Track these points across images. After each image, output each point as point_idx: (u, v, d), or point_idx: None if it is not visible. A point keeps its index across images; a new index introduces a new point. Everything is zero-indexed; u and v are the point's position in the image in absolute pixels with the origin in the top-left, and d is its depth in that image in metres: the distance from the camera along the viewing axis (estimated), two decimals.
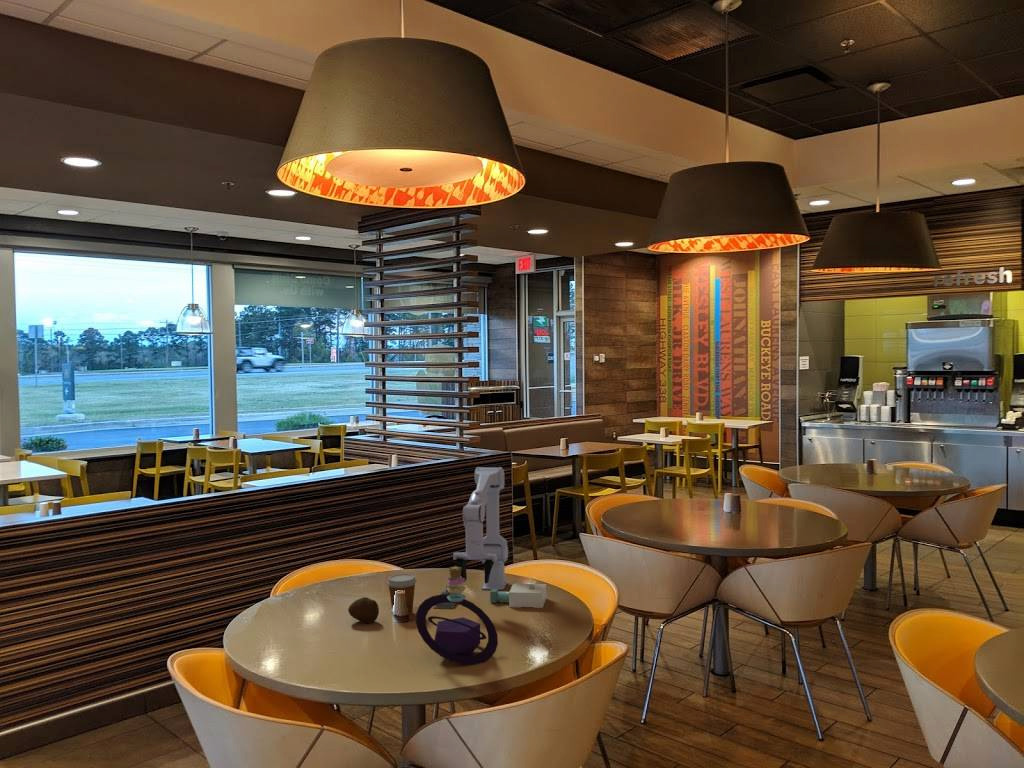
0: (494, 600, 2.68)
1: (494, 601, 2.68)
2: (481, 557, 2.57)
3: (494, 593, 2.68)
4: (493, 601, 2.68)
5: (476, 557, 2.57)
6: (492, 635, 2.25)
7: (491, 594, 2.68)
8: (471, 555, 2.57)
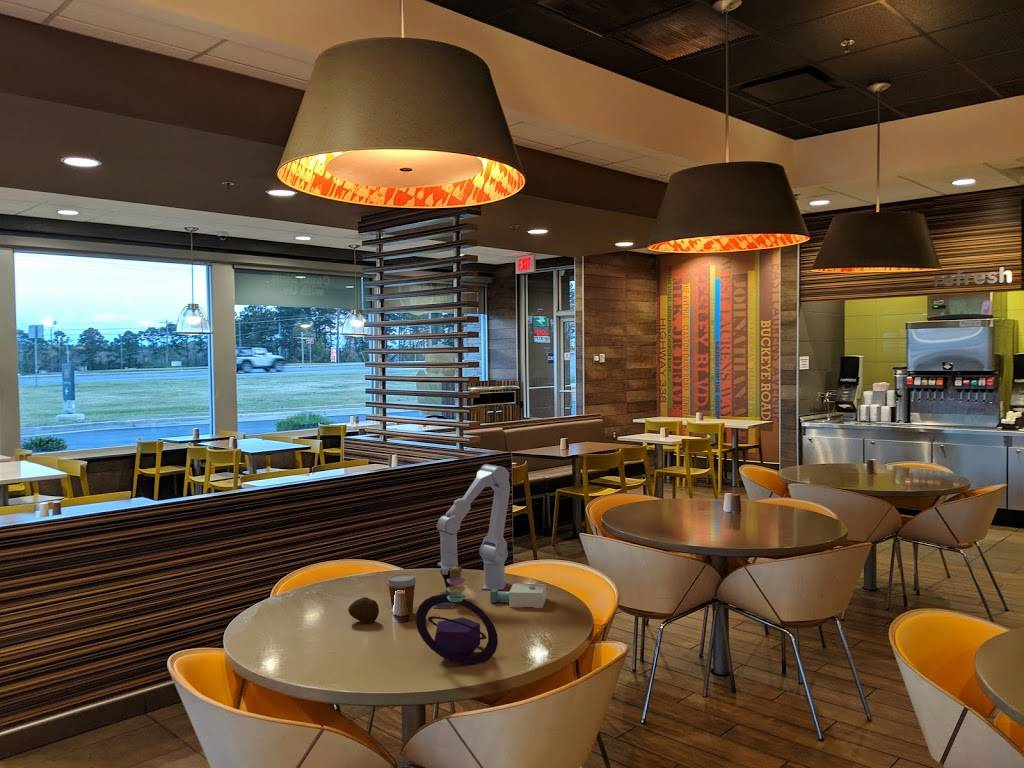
0: (494, 600, 2.68)
1: (494, 601, 2.68)
2: (441, 566, 2.72)
3: (494, 593, 2.68)
4: (493, 601, 2.68)
5: (440, 565, 2.74)
6: (492, 635, 2.25)
7: (491, 594, 2.68)
8: (441, 562, 2.75)
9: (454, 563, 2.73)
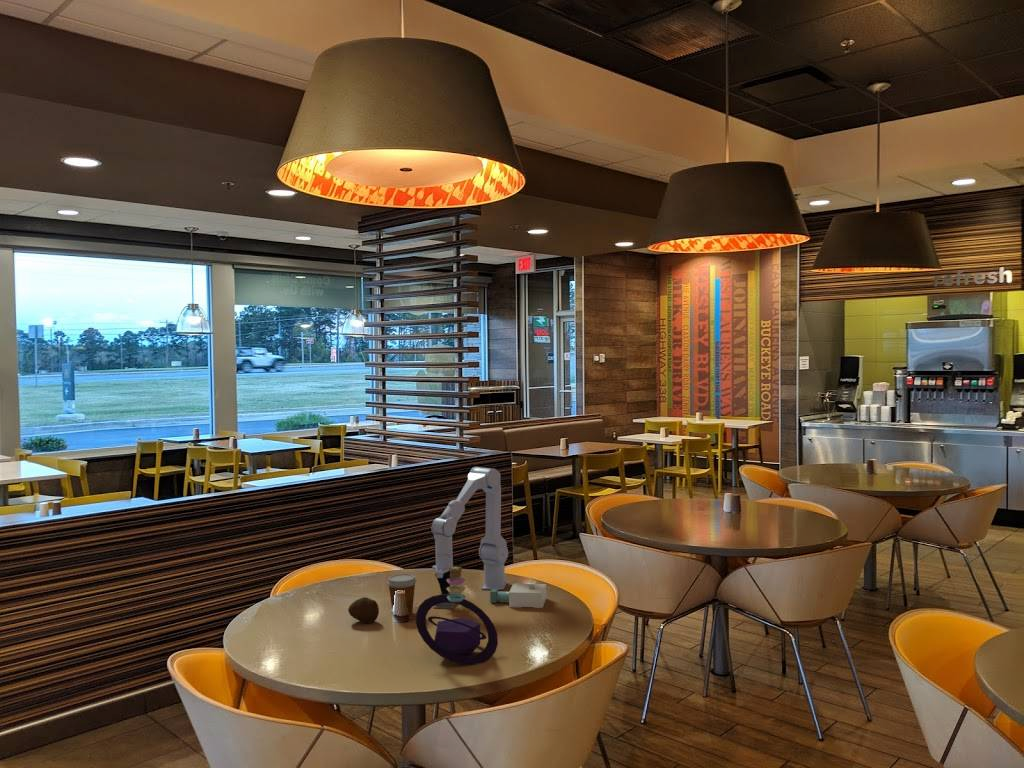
0: (494, 600, 2.68)
1: (494, 601, 2.68)
2: (436, 569, 2.65)
3: (494, 593, 2.68)
4: (493, 601, 2.68)
5: (435, 568, 2.67)
6: (492, 635, 2.25)
7: (491, 594, 2.68)
8: (436, 565, 2.68)
9: (449, 566, 2.66)
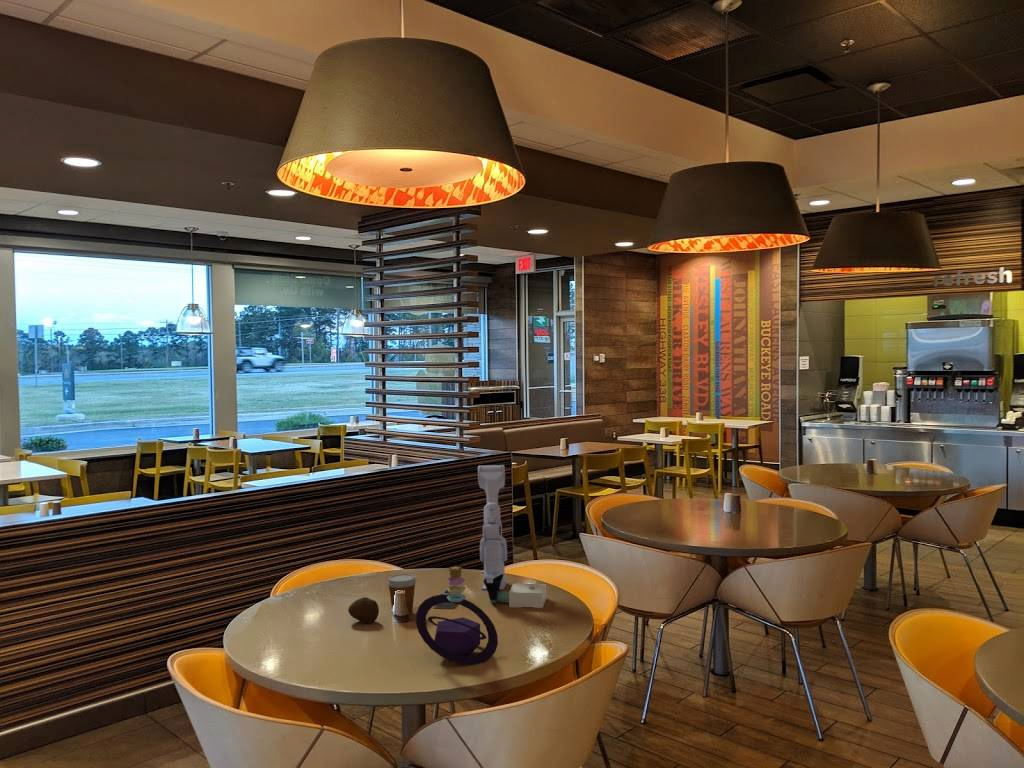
0: (494, 600, 2.68)
1: (494, 601, 2.68)
2: (485, 574, 2.67)
3: None
4: (493, 601, 2.68)
5: (484, 573, 2.68)
6: (492, 635, 2.25)
7: None
8: (485, 570, 2.70)
9: (499, 571, 2.67)
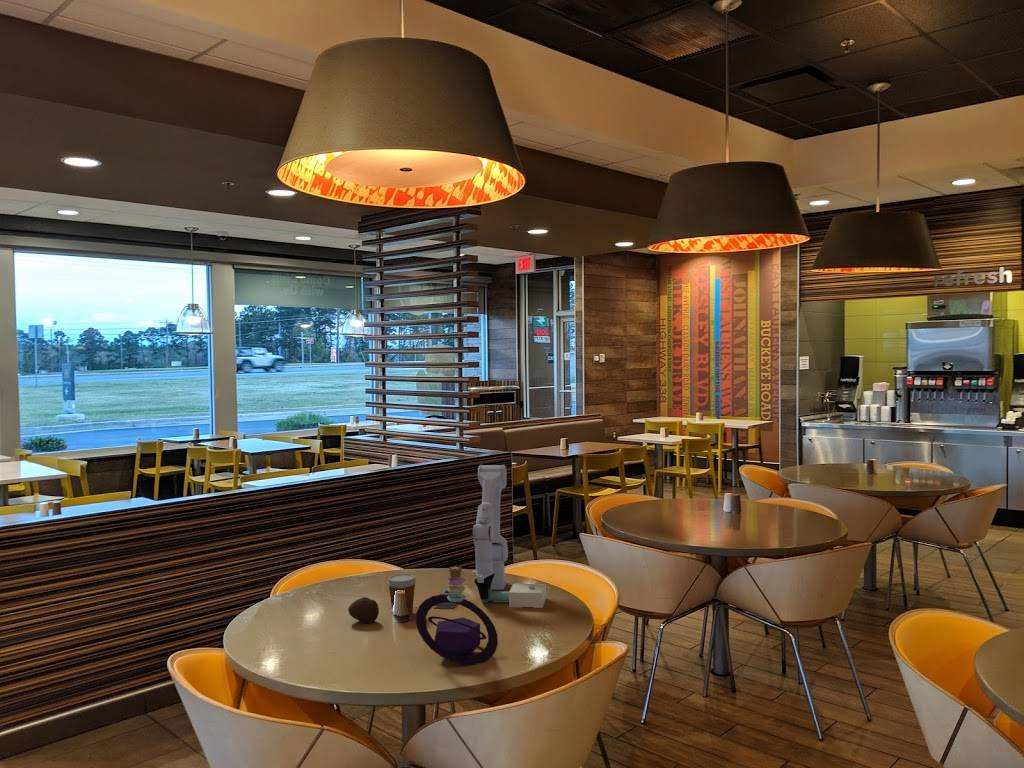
0: (485, 600, 2.68)
1: (485, 601, 2.68)
2: (476, 574, 2.67)
3: None
4: (484, 601, 2.69)
5: (475, 573, 2.69)
6: (492, 635, 2.25)
7: None
8: (476, 569, 2.70)
9: (489, 571, 2.68)
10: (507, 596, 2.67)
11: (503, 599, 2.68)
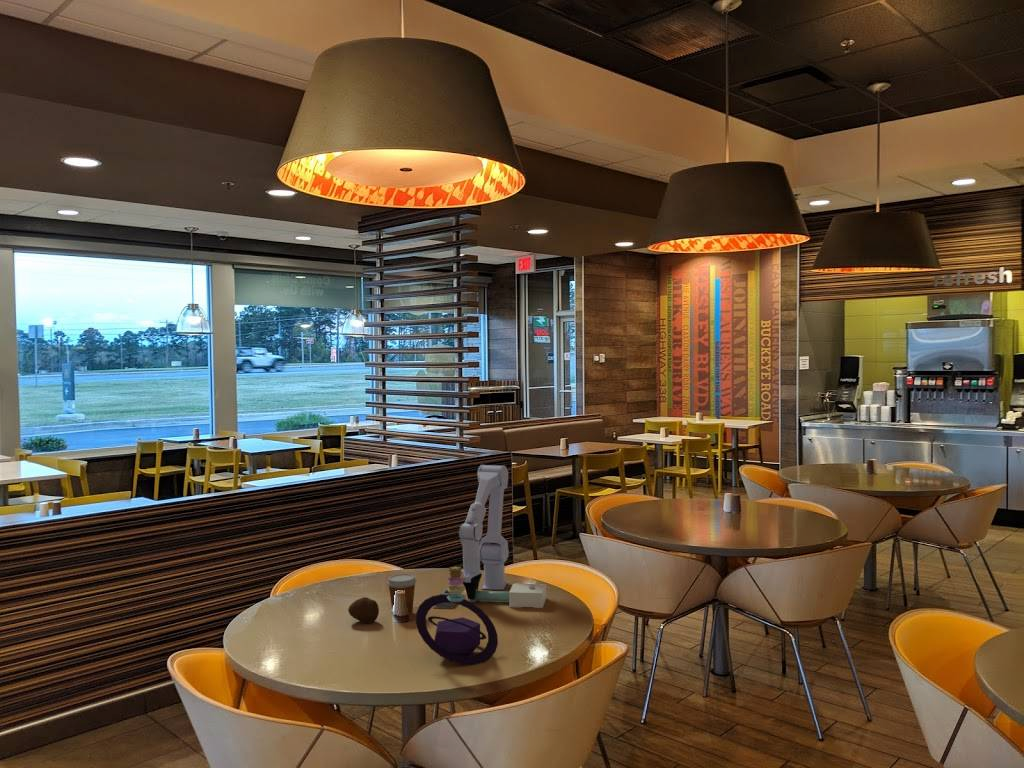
0: None
1: (473, 600, 2.69)
2: None
3: None
4: (472, 600, 2.69)
5: (463, 572, 2.69)
6: (492, 635, 2.25)
7: None
8: None
9: (477, 571, 2.68)
10: (495, 596, 2.68)
11: (491, 599, 2.68)
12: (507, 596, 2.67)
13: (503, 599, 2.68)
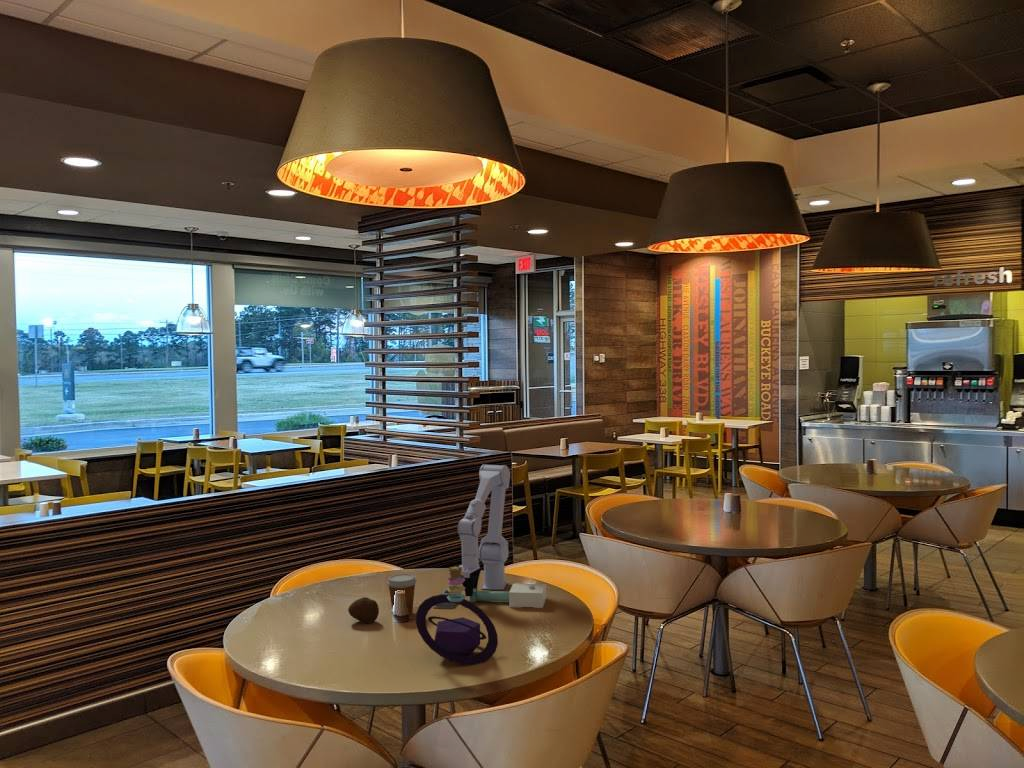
0: (473, 599, 2.69)
1: (473, 600, 2.69)
2: (462, 569, 2.68)
3: (473, 593, 2.69)
4: (472, 600, 2.69)
5: None
6: (492, 635, 2.25)
7: None
8: (462, 564, 2.71)
9: (475, 566, 2.69)
10: (495, 596, 2.68)
11: (491, 599, 2.68)
12: (507, 596, 2.67)
13: (503, 599, 2.68)
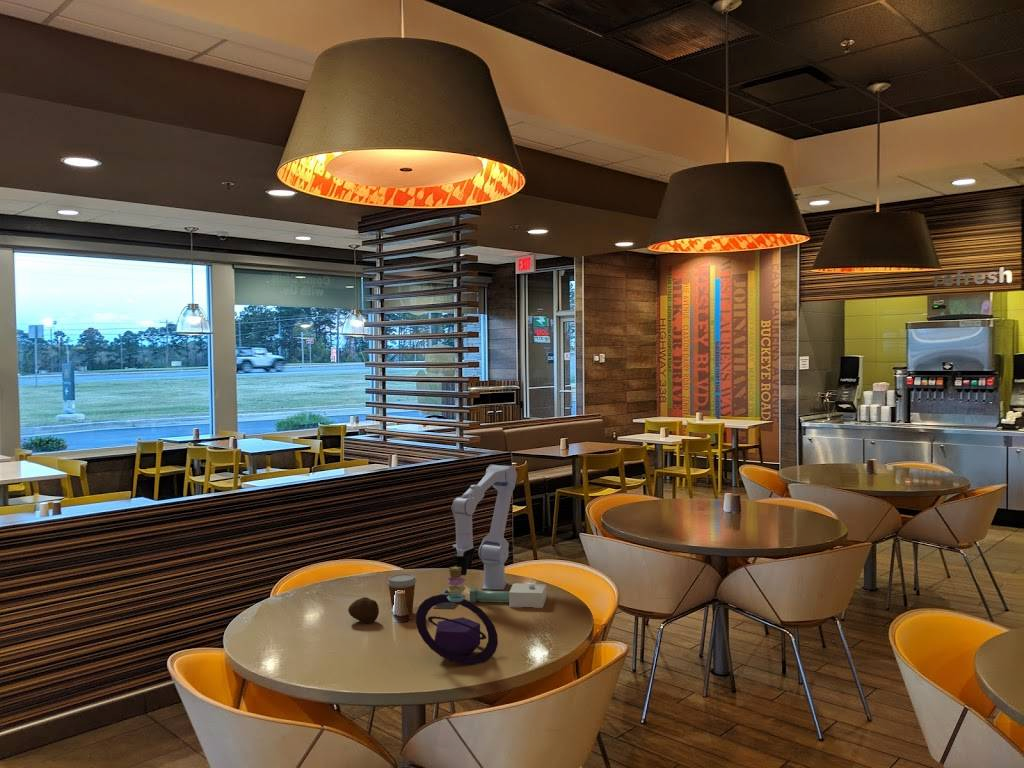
0: (473, 599, 2.69)
1: (473, 600, 2.69)
2: (456, 548, 2.69)
3: (473, 593, 2.69)
4: (472, 600, 2.69)
5: (455, 547, 2.70)
6: (492, 635, 2.25)
7: (470, 594, 2.69)
8: (456, 544, 2.72)
9: (469, 545, 2.69)
10: (495, 596, 2.68)
11: (491, 599, 2.68)
12: (507, 596, 2.67)
13: (503, 599, 2.68)
